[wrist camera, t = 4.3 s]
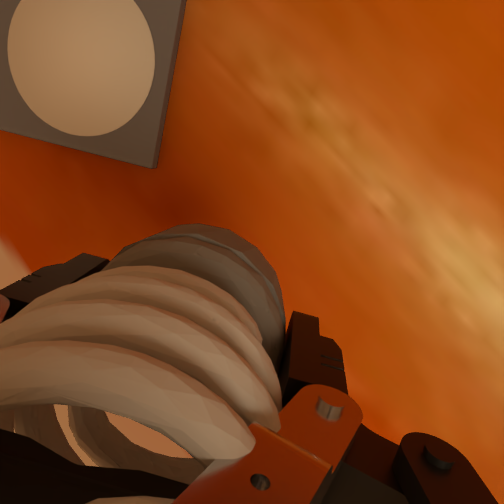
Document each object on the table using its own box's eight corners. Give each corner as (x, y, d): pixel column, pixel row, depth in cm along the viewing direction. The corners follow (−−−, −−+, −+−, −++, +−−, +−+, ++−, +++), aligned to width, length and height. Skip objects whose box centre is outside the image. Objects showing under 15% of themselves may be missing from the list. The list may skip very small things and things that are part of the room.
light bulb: (172, 360, 17) (-92, 827, 6) (119, 224, 16) (-356, 476, 5) (314, 327, 16) (334, 817, 5) (269, 178, 15) (146, 355, 3)
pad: (14, -58, 22) (2, -66, 21) (189, -16, 22) (184, -23, 21) (-2, 127, 24) (-13, 126, 23) (156, 167, 24) (150, 168, 23)
